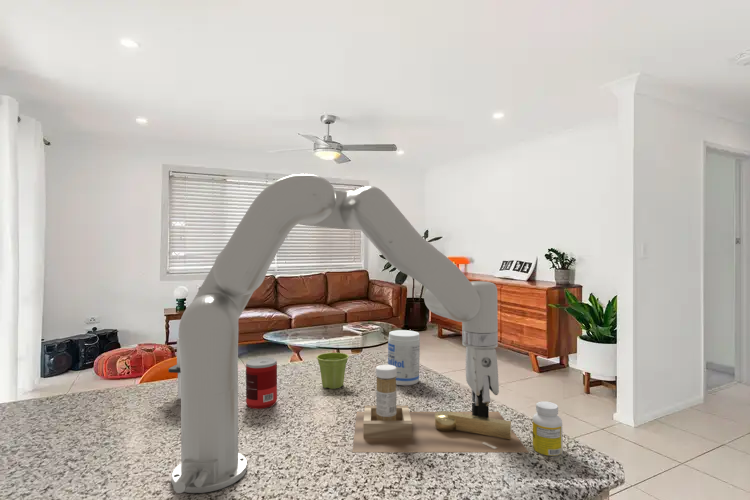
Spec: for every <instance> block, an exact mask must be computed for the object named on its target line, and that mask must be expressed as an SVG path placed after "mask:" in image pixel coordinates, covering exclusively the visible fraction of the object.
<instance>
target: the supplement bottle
mask: <svg viewBox="0 0 750 500" xmlns="http://www.w3.org/2000/svg"><path fill="white" fill-rule="evenodd" d="M535 411H536V413H534V414H533V416H532V449H533V451H534V452H535V453H536V454H539V455H541V456H546V457H550V458H551V457H552V458H554V457H555V458H556V457H561V456H562V455H563V452H564V451H563V450H564V449H563V444H564V443H563V419H562V418H561V417H560V416H559V405H558V404H557V403H554V402H551V401H544V400H542V401H538V402H536V403H535Z"/></svg>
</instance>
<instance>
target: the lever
mask: <svg viewBox="0 0 750 500" xmlns="http://www.w3.org/2000/svg"><path fill="white" fill-rule="evenodd" d="M436 412H437V413H435V427H436V428H437V429H439V430H442V431H454V430H460V431H466V432H471V433H477V434H483V435H488V436H494V437H500V438H506V439H511V429H512V421H511V420H506V419H504V420H500V419H493V418H487V417H481V416H474V415H468V414H462V413H455V412H456V411H449V410H441V411H436Z"/></svg>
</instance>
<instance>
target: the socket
mask: <svg viewBox="0 0 750 500" xmlns="http://www.w3.org/2000/svg"><path fill="white" fill-rule="evenodd" d="M363 412H364V423H363V438H412V422H411V417H410V412H411V411H410V409H409V405H397V404H396V421H377V413H376V404H375V405H364V411H363Z"/></svg>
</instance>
